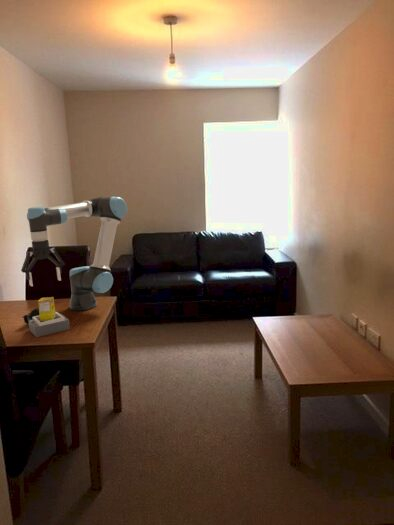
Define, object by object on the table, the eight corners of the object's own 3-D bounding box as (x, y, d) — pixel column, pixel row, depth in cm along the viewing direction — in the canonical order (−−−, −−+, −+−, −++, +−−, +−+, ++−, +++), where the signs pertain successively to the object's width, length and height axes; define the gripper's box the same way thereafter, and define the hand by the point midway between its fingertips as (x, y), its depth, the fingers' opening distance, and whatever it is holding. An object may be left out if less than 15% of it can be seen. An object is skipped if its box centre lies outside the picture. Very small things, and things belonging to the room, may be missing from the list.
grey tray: (61, 323, 218) (60, 310, 217) (69, 329, 208) (68, 316, 207) (29, 330, 209) (28, 317, 208) (36, 337, 199) (34, 324, 198)
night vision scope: (48, 320, 231) (59, 309, 227) (27, 332, 214) (38, 321, 211) (39, 309, 231) (49, 298, 227) (17, 320, 214) (28, 309, 211)
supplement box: (56, 317, 211) (53, 296, 209) (52, 321, 205) (50, 300, 203) (44, 318, 210) (41, 297, 208) (40, 322, 205) (37, 300, 202)
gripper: (62, 235, 212) (67, 276, 216) (10, 242, 198) (16, 286, 202) (68, 237, 206) (73, 279, 211) (14, 244, 192) (21, 289, 196)
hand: (45, 283), depth 206 cm, fingers open, 13 cm apart
